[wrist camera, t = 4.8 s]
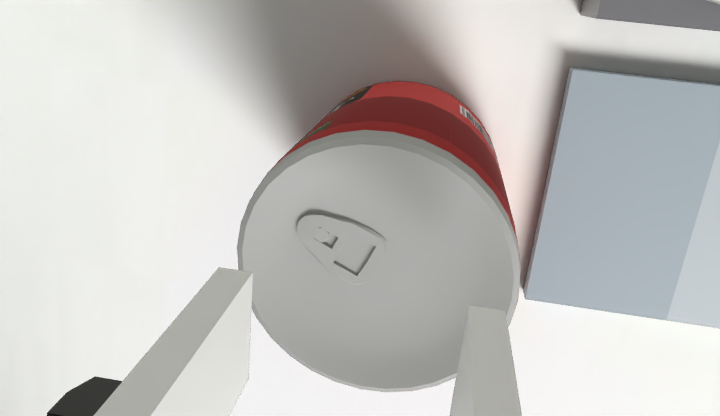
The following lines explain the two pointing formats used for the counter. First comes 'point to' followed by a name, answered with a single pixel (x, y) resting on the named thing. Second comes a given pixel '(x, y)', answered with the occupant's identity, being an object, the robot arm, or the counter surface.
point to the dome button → (715, 1)
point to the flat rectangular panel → (632, 200)
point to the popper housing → (657, 12)
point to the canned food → (382, 239)
